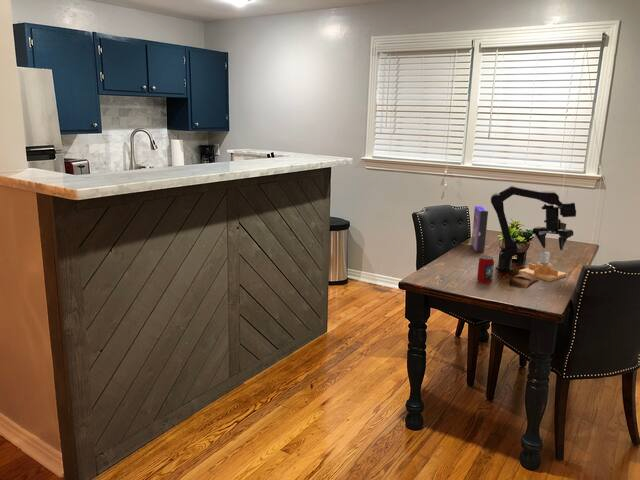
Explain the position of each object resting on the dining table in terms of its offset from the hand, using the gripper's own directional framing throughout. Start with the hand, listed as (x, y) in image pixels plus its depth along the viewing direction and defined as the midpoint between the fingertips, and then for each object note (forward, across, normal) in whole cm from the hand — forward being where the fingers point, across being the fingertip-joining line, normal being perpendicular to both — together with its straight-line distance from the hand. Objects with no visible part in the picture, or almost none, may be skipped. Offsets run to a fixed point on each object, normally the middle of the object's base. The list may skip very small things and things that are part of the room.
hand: (552, 249), depth 253 cm
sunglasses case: (+12, -2, +25) cm, 28 cm away
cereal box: (+8, +55, -9) cm, 57 cm away
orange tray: (+12, +2, +6) cm, 14 cm away
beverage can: (+9, +7, +42) cm, 43 cm away
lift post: (+11, +2, +5) cm, 12 cm away
